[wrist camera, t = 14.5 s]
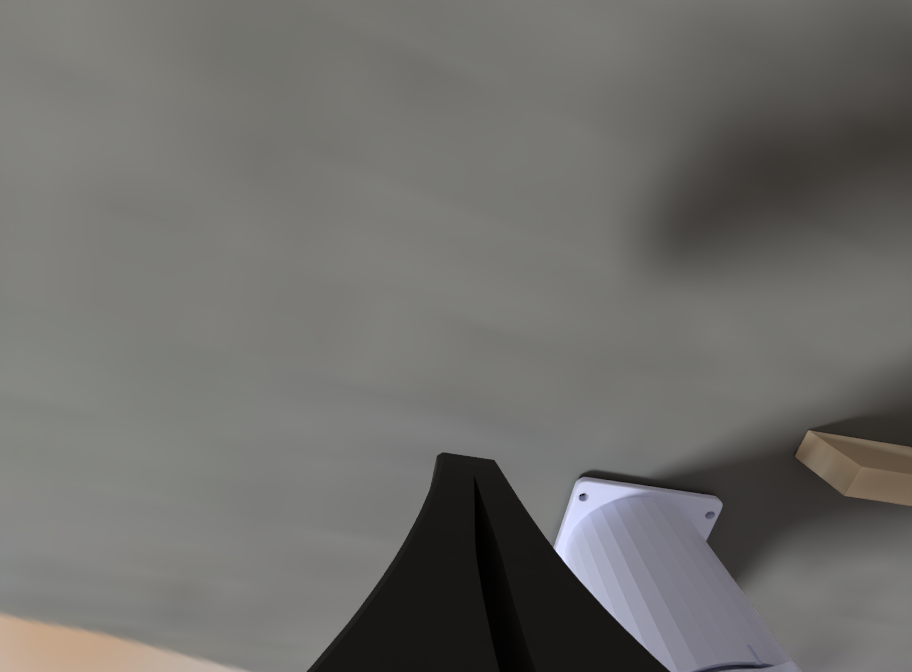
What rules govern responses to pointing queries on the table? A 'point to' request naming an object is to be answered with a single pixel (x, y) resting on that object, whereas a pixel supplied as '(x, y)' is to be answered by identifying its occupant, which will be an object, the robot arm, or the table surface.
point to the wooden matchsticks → (860, 466)
